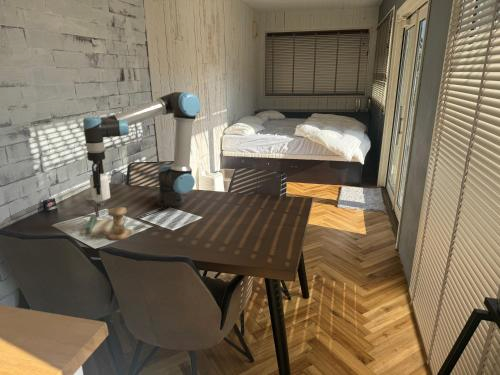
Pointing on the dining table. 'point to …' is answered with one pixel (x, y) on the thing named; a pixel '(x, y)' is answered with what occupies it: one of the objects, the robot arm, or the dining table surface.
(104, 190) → the beverage can
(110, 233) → the bobbin
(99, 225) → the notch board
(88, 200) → the mechanical component
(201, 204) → the dining table surface
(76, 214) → the dining table surface
